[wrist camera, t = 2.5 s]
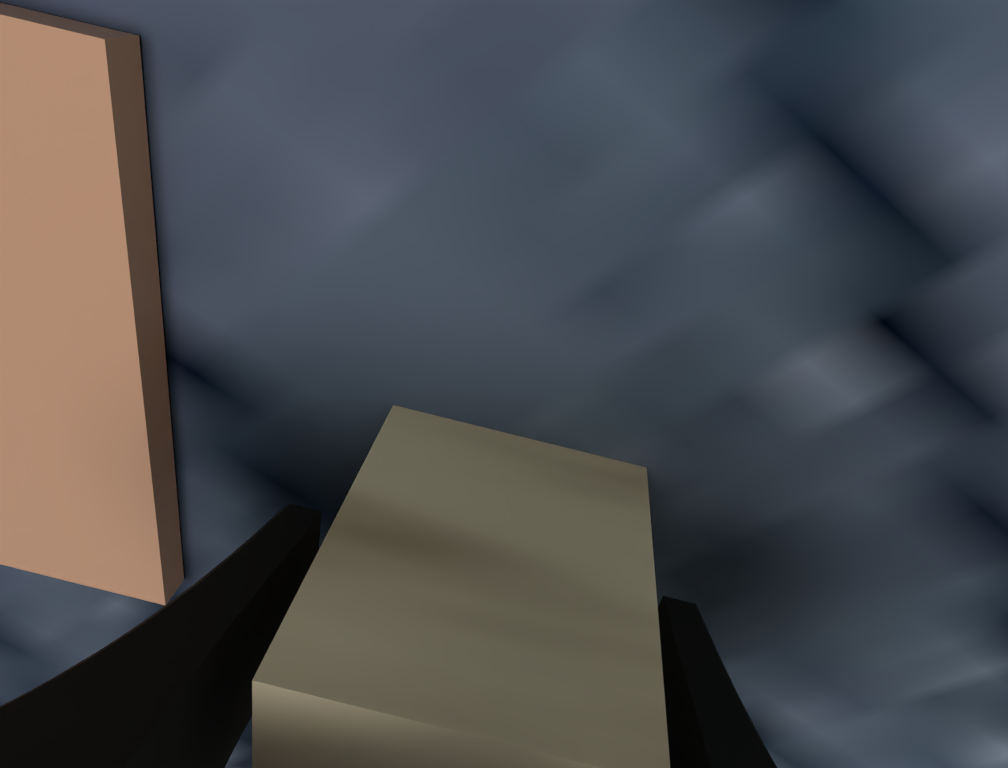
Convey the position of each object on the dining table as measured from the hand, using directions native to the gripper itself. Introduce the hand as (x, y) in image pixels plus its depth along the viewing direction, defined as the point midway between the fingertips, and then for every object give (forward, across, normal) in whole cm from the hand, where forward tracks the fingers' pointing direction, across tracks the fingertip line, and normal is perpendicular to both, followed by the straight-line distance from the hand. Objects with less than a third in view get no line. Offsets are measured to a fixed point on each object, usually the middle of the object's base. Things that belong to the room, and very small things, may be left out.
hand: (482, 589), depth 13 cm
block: (+2, 0, 0) cm, 2 cm away
